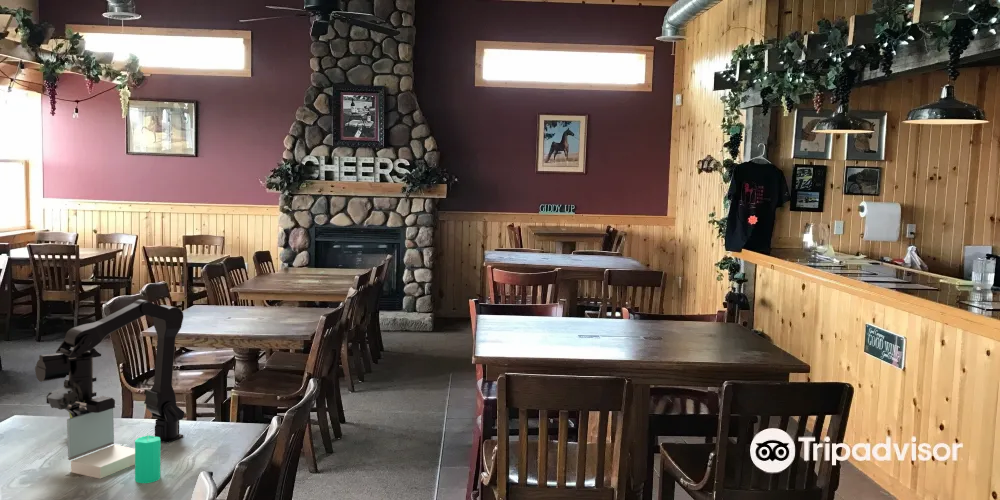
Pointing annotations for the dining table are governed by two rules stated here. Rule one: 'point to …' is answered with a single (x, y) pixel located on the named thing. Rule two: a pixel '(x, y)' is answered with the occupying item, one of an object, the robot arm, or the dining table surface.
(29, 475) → the dining table surface
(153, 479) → the candle
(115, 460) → the small notepad
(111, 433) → the lid
